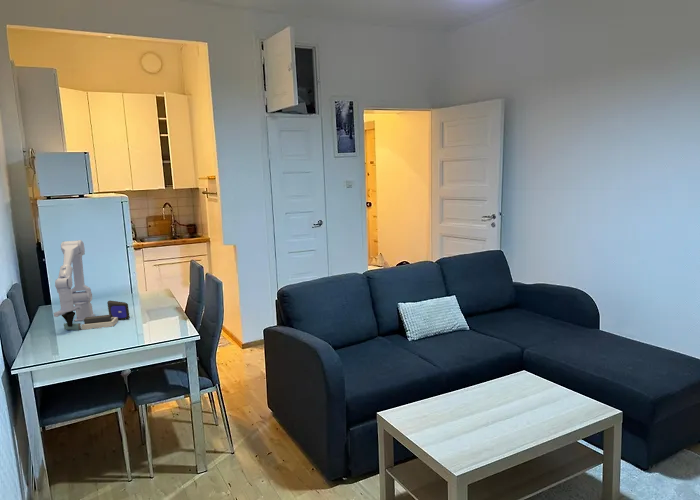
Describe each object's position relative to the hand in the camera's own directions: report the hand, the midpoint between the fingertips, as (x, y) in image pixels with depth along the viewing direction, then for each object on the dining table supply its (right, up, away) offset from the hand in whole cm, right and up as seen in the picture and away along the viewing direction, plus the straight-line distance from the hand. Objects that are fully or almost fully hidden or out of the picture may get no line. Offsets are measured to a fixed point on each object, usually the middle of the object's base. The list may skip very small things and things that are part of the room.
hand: (70, 326), depth 247 cm
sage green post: (+1, -2, +1) cm, 2 cm away
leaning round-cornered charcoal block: (+17, +1, +19) cm, 25 cm away
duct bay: (+12, -1, +6) cm, 13 cm away
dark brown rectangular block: (+11, -1, +6) cm, 13 cm away
